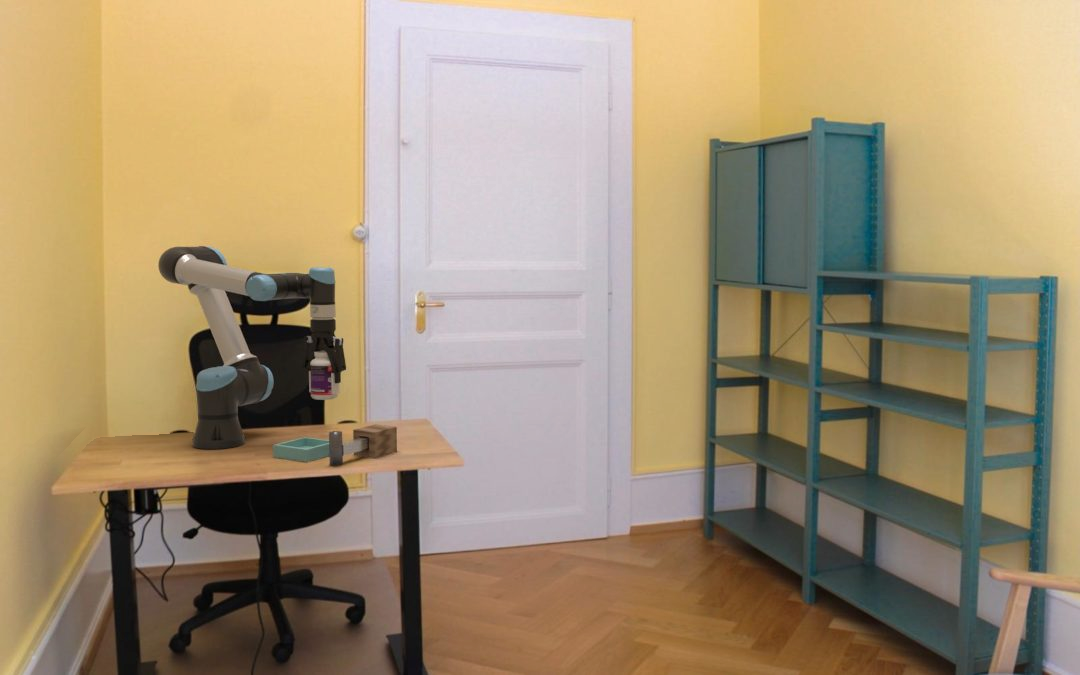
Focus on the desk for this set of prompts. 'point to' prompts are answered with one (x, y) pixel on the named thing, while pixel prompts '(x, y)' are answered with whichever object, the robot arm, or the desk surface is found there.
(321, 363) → the pill bottle
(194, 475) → the desk surface
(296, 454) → the tray
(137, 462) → the desk surface
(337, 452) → the grey t-shaped piece
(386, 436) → the mount
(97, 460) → the desk surface
